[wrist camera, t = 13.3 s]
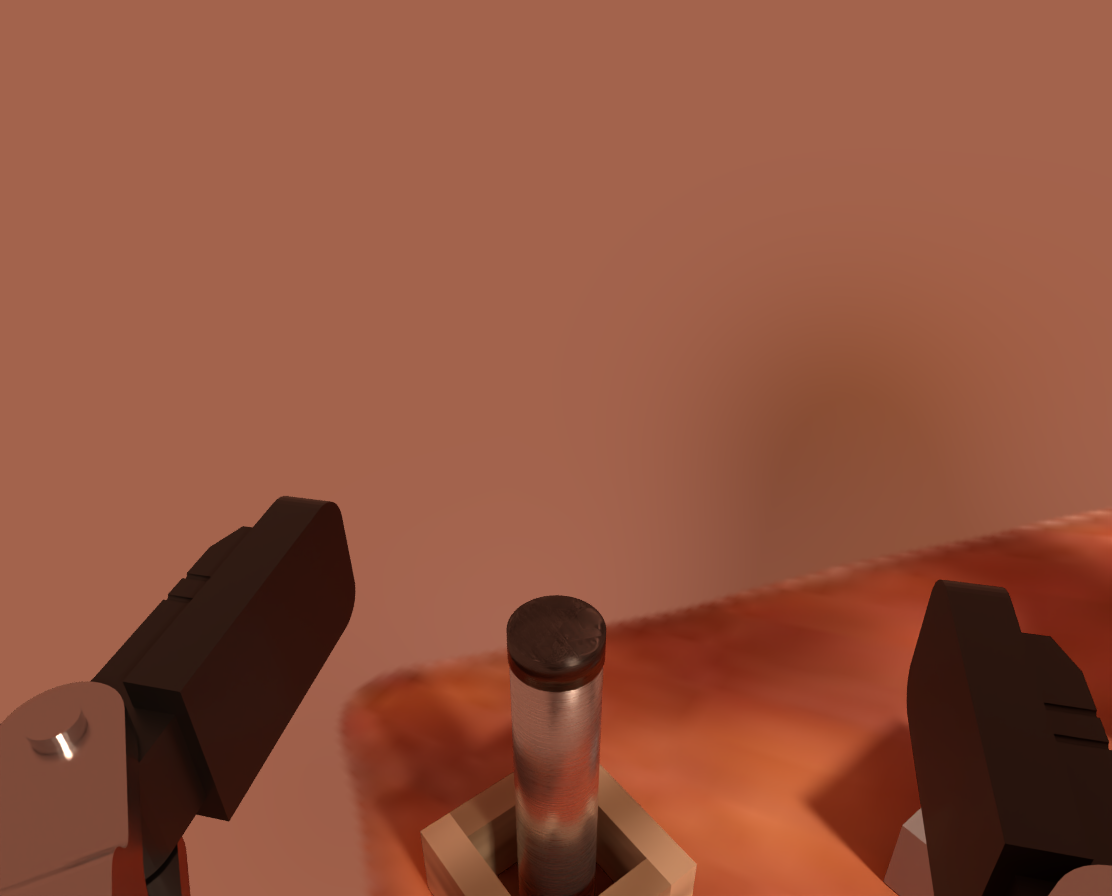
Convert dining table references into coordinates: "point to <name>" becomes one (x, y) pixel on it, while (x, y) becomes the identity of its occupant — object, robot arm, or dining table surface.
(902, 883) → the block
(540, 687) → the pin
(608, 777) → the wooden square box frame
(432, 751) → the dining table surface
